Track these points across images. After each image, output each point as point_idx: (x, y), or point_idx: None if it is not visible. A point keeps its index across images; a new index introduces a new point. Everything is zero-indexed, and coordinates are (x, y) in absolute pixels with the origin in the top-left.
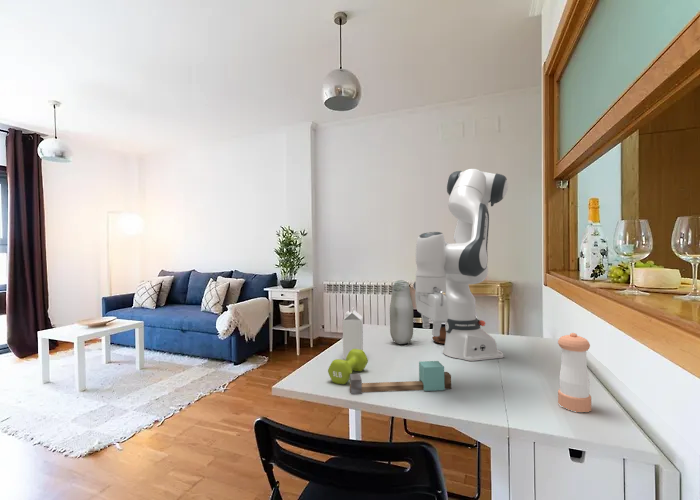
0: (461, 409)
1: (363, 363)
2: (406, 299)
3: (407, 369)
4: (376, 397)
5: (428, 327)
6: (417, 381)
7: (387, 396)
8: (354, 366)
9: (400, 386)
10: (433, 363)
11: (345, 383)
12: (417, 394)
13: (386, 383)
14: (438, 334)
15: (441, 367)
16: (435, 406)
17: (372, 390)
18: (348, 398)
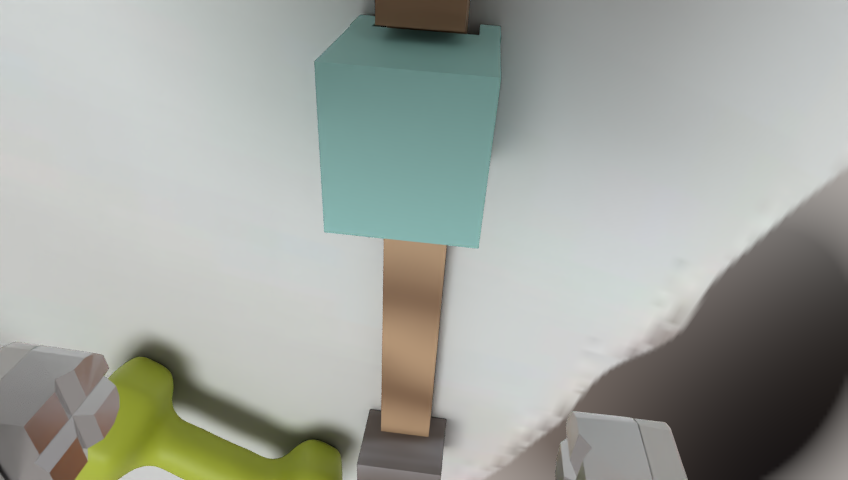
0: (816, 41)
1: (160, 401)
2: None
3: (85, 131)
4: (498, 383)
5: (88, 379)
6: None
7: (499, 344)
8: (203, 435)
9: (441, 290)
10: (389, 137)
11: (334, 448)
12: (512, 212)
13: (400, 343)
14: (668, 453)
15: (496, 102)
16: (700, 178)
17: (433, 387)
18: (482, 461)
